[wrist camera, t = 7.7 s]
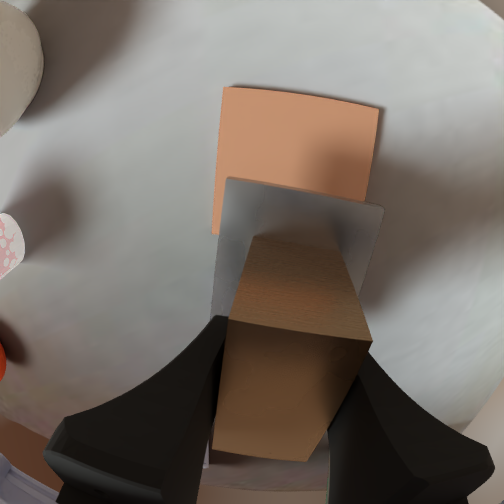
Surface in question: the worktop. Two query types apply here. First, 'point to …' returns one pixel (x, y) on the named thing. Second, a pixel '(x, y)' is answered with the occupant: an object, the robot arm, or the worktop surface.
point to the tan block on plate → (288, 313)
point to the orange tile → (294, 143)
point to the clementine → (2, 362)
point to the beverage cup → (10, 244)
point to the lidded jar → (17, 64)
